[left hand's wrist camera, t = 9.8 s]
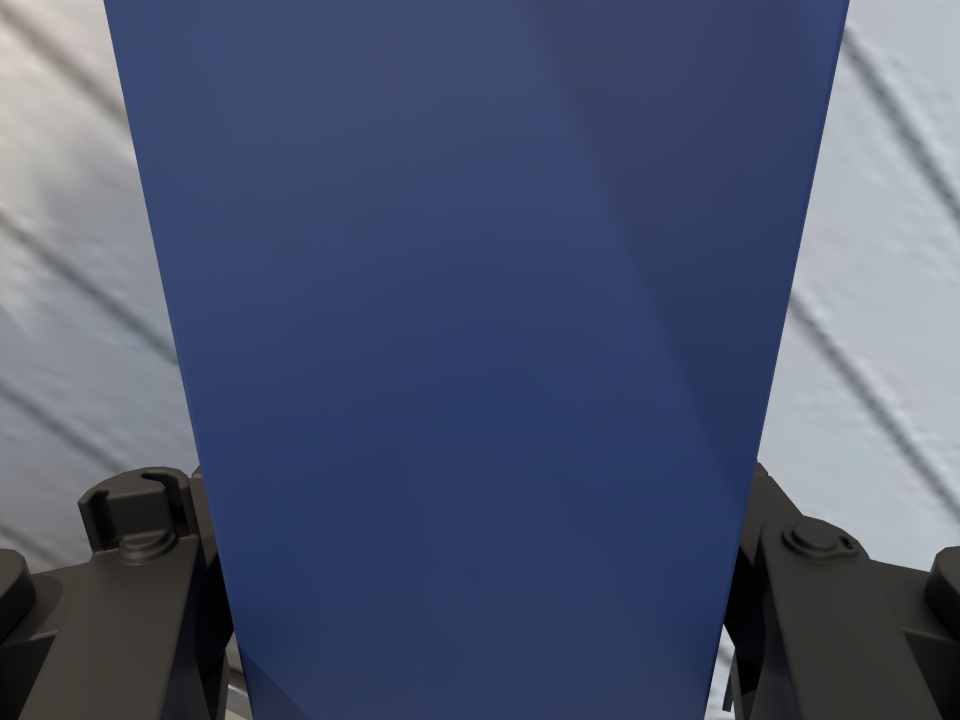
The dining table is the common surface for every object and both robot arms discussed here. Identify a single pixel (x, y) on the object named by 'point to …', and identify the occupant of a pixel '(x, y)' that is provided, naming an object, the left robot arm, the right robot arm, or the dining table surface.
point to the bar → (477, 330)
